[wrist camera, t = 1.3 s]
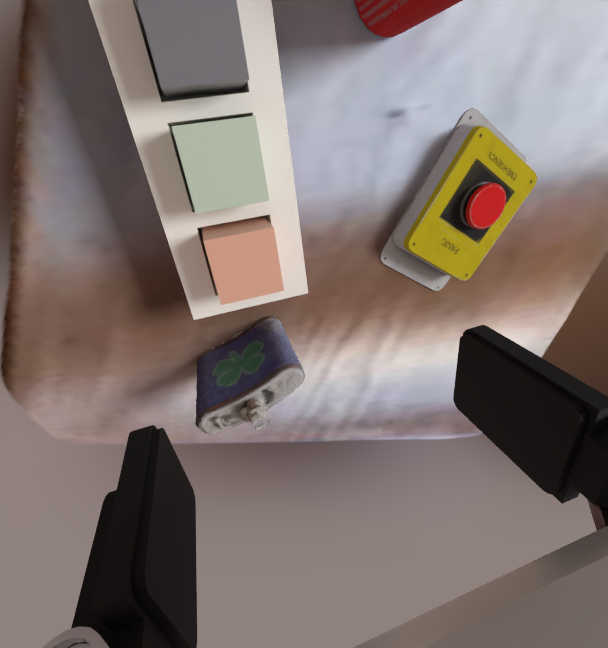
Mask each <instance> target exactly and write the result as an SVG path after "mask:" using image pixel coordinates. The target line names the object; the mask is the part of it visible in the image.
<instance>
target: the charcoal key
mask: <svg viewBox="0 0 608 648" xmlns="http://www.w3.org/2000/svg"><path fill="white" fill-rule="evenodd" d="M137 3H138V6H139V10H140V13H141V17H142V21H143V24H144V28H145V32H146V35H147V39H148V42H149V46H150V50H151V53H152V57H153V61H154V64H155V68H156V71H157V75H158V79H159V82H160V86H161V89H162V91H163V92H164V94H165V96H166V98H174V97H183V96H192V95H201V94H210V93H219V92H228V91H237V90H241V89H242V87H243V86H244V85H245V84H246V83H247V82H248V80H249V74H248V68H247V61H246V55H245V49H244V43H243V37H242V31H241V25H240V19H239V13H238V7H237V1H236V0H137Z"/></svg>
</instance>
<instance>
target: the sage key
mask: <svg viewBox="0 0 608 648" xmlns="http://www.w3.org/2000/svg"><path fill="white" fill-rule="evenodd" d="M172 129H173V133H174V137H175V140H176V144H177V147H178V151H179V155H180V158H181V162H182V166H183V169H184V173H185V176H186V180H187V184H188V187H189V191H190V195H191V198H192V202H193V205H194V209H195V213H196V214H197V213H203V212H209V211H214V210H220V209H226V208H231V207H237V206H242V205H248V204H254V203H259V202H265V201H269V195H268V189H267V183H266V177H265V171H264V165H263V159H262V153H261V147H260V140H259V134H258V128H257V122H256V116H249V117H241V118H233V119H225V120H217V121H209V122H202V123H194V124H186V125H178V126H172Z"/></svg>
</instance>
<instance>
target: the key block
mask: <svg viewBox="0 0 608 648" xmlns="http://www.w3.org/2000/svg"><path fill="white" fill-rule="evenodd" d="M88 1H89V4H90V7H91V10H92V13H93V16H94V19H95V22H96V25H97V28H98V31H99V34H100V37H101V40H102V43H103V46H104V49H105V52H106V55H107V58H108V61H109V64H110V67H111V70H112V73H113V76H114V79H115V82H116V86H117V89H118V92H119V95H120V98H121V101H122V104H123V107H124V110H125V113H126V116H127V119H128V122H129V125H130V128H131V131H132V134H133V137H134V140H135V143H136V146H137V149H138V152H139V155H140V158H141V161H142V164H143V167H144V170H145V173H146V176H147V179H148V182H149V185H150V188H151V191H152V194H153V198H154V201H155V204H156V207H157V210H158V213H159V216H160V219H161V222H162V225H163V228H164V231H165V234H166V237H167V240H168V243H169V246H170V249H171V252H172V255H173V258H174V261H175V264H176V267H177V270H178V273H179V276H180V279H181V282H182V285H183V288H184V291H185V294H186V297H187V300H188V303H189V306H190V310H191V313H192V316H193V319H194V320H196V319H200V318H205V317H209V316H213V315H217V314H222V313H226V312H230V311H234V310H239V309H243V308H247V307H251V306H255V305H260V304H264V303H268V302H272V301H277V300H281V299H285V298H289V297H294V296H298V295H302V294H306V293H308V288H307V280H306V272H305V264H304V256H303V248H302V240H301V232H300V224H299V216H298V208H297V200H296V192H295V184H294V176H293V168H292V160H291V152H290V144H289V136H288V128H287V121H286V113H285V105H284V97H283V89H282V81H281V73H280V65H279V57H278V49H277V41H276V33H275V25H274V17H273V9H272V1H271V0H236V1H237V7H238V13H239V19H240V25H241V31H242V37H243V43H244V49H245V55H246V61H247V68H248V74H249V80H248V82H247V83H246V84H245V85H244V86H243V87H242V89H241V90H237V91H228V92H219V93H210V94H201V95H192V96H183V97H174V98H166V96H165V94H164V92H163V91H162V89H161V86H160V82H159V79H158V75H157V71H156V68H155V64H154V61H153V57H152V53H151V50H150V46H149V42H148V39H147V35H146V32H145V28H144V24H143V21H142V17H141V13H140V10H139V6H138V3H137V0H88ZM249 116H256V122H257V128H258V134H259V140H260V147H261V153H262V159H263V165H264V171H265V177H266V183H267V189H268V195H269V201H265V202H259V203H254V204H248V205H242V206H237V207H231V208H226V209H220V210H214V211H209V212H203V213H197V214H196V213H195V209H194V205H193V202H192V198H191V195H190V191H189V187H188V184H187V180H186V176H185V173H184V169H183V166H182V162H181V158H180V155H179V151H178V147H177V144H176V140H175V137H174V133H173V129H172V126H178V125H186V124H194V123H202V122H209V121H217V120H225V119H233V118H241V117H249ZM259 216H263V217H264V218H265V219H266V220H267V221H268V222H269V223H270V224H271V225H272V226H273V227H274V232H275V238H276V244H277V250H278V256H279V262H280V268H281V274H282V280H283V286H284V291H281V292H276V293H272V294H268V295H263V296H259V297H255V298H250V299H246V300H242V301H237V302H233V303H229V304H224V305H221V303H220V300H219V296H218V292H217V289H216V285H215V282H214V278H213V274H212V271H211V267H210V263H209V260H208V256H207V253H206V249H205V245H204V242H203V233H202V227H205V226H210V225H216V224H221V223H227V222H232V221H237V220H243V219H248V218H254V217H259Z"/></svg>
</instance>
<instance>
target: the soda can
mask: <svg viewBox="0 0 608 648" xmlns="http://www.w3.org/2000/svg"><path fill="white" fill-rule="evenodd" d="M460 1H462V0H354V2H355V5H356V7H357V10H358V13H359V16H360V18H361V20H362V21H363V22H364V24H365V25H366V27H367V28H368V29H369V30H370V31H372V32H373V33H374V34H376V35H379V36H382V37H394V36H396V35H398V34H401V33H403V32H405V31H407V30H408V29H410V28H412V27H414V26H416V25H418V24H420V23H421V22H423V21H425V20H427V19H429V18H431V17H433V16H434V15H436V14H438V13H440V12H442V11H444V10H446V9H447V8H449V7H451V6H453V5H455V4H457V3H459V2H460Z"/></svg>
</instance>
